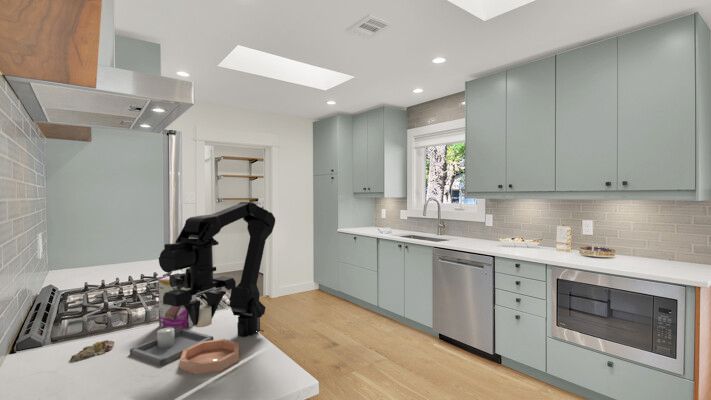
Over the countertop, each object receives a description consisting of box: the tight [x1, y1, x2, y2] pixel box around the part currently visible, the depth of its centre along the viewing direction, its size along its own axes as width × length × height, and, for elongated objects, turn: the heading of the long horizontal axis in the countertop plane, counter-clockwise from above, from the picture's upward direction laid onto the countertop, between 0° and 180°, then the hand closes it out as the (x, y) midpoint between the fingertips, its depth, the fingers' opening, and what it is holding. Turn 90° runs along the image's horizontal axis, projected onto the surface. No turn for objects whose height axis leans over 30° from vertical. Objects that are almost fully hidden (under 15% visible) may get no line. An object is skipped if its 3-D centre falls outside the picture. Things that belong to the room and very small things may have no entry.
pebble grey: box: [156, 327, 175, 349], centre depth 103 cm, size 4×4×4 cm
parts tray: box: [129, 328, 214, 366], centre depth 101 cm, size 16×14×2 cm
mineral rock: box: [70, 339, 115, 362], centre depth 99 cm, size 11×4×8 cm
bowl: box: [179, 338, 240, 375], centre depth 94 cm, size 14×14×3 cm
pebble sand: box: [193, 304, 213, 328], centre depth 95 cm, size 4×4×4 cm
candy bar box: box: [157, 275, 198, 329], centre depth 118 cm, size 11×5×16 cm, turn 79°
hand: (202, 321), depth 95 cm, fingers closed on pebble sand, 4 cm apart
